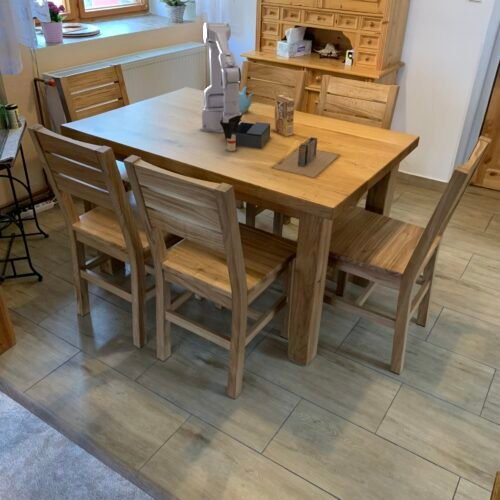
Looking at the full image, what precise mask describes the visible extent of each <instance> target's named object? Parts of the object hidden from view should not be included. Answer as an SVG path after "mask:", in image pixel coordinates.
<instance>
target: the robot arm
mask: <svg viewBox="0 0 500 500" xmlns="http://www.w3.org/2000/svg"><path fill="white" fill-rule="evenodd" d="M202 29H203V31H202V32H203V42H204V44H206V45H208V52H209V53H208V54H209V57H208V58H209V82H210V85H209V86H207V88H205V89H204V91H203V106H204V108H203V109H202V113H201V127H202V128H201V130H202V131H203V132H205V131H207V132H215V133H223V134H224V137H225V139H231V137H232V132H234V133H237V130H238V126H239V124H240V123H241V121H240V119H241V120H242V117H243V113H241V112H239V92H240V84H241V82H242V70H241V67H240V66H239V64H237V63H236V58H235V55H234V53H233V52H232V51H230V47H229V46H230V45H229V41H230V38H231V35H232V33H231V32H232V31H231V30H232V29H231V24H230V23H229V21H226V22H205V23H204V24H203V28H202ZM223 116H224V117H223ZM222 117H223V120H222V119H221V118H222Z"/></svg>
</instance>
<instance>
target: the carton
mask: <svg viewBox="0 0 500 500" xmlns="http://www.w3.org/2000/svg"><path fill="white" fill-rule="evenodd" d="M232 134H233V135H235V136H236V147H244V148H253V149H262V148H263V147H264V145H265V144H266V143H267V142H268V140H269V139H270V138H271V123H269V122H259V121H255V123H253V122H247V121H246V122H245V121H240V122H239V126H238V130H237V133H234V132H232Z"/></svg>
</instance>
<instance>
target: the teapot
mask: <svg viewBox="0 0 500 500" xmlns="http://www.w3.org/2000/svg"><path fill="white" fill-rule="evenodd" d="M246 91H247V86H243V88H242V90H241V91H239V112H241V113H242V114H245V113H247V111H249V109H250V107H251V106H252V96H253V95H254V93H249V94H248V96H247V93H246Z"/></svg>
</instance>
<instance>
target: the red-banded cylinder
mask: <svg viewBox="0 0 500 500" xmlns="http://www.w3.org/2000/svg"><path fill="white" fill-rule="evenodd" d="M226 143H227V151H229V152H232V151H233V152H234V151H236V149H237V148H236V147H237V146H236V136H235V135H233V134H232V137H231V139H227V140H226Z"/></svg>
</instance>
